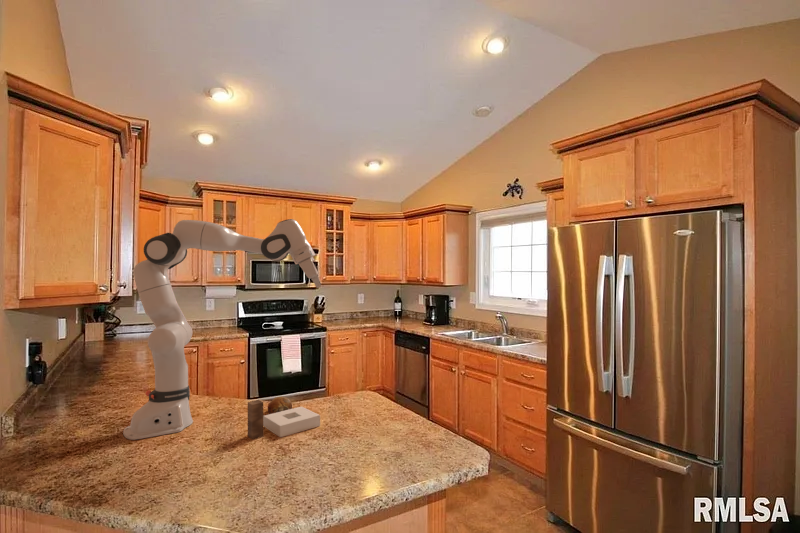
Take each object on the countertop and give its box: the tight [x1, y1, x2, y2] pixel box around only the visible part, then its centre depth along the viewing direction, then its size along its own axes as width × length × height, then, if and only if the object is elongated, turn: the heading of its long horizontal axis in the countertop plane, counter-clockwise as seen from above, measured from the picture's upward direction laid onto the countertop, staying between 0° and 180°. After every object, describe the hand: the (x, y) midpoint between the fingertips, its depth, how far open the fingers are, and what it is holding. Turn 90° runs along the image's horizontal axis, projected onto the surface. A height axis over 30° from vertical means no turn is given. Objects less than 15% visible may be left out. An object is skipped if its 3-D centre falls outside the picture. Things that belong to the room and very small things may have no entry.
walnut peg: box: [247, 399, 264, 440], centre depth 149 cm, size 4×4×12 cm
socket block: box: [263, 406, 321, 438], centre depth 158 cm, size 16×14×4 cm
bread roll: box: [267, 396, 293, 415], centre depth 174 cm, size 10×10×8 cm
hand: (319, 286), depth 171 cm, fingers open, 8 cm apart
